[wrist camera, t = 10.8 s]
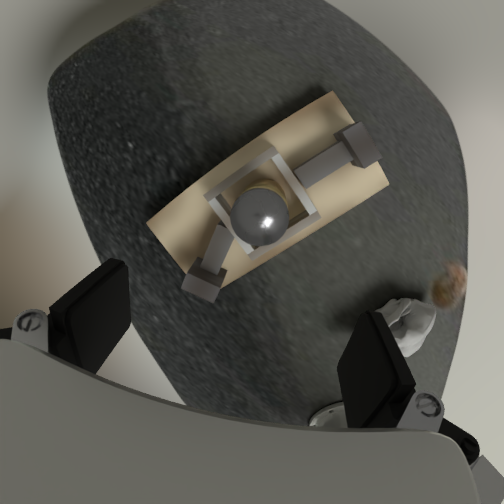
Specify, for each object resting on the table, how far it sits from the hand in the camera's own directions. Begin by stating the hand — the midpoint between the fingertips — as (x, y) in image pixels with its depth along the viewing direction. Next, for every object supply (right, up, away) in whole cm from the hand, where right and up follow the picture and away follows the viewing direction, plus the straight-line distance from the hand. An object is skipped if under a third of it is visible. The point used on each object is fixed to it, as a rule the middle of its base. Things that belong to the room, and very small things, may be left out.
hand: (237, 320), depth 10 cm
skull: (+19, -6, +23) cm, 30 cm away
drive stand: (+2, +8, +19) cm, 20 cm away
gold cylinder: (+2, +8, +17) cm, 18 cm away
